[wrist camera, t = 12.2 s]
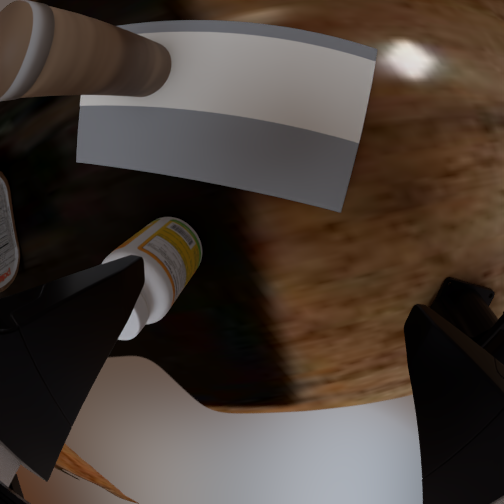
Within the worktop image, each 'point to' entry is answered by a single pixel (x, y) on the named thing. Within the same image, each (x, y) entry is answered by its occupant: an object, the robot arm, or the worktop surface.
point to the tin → (7, 237)
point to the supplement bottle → (160, 268)
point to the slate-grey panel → (241, 111)
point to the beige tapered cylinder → (74, 55)
